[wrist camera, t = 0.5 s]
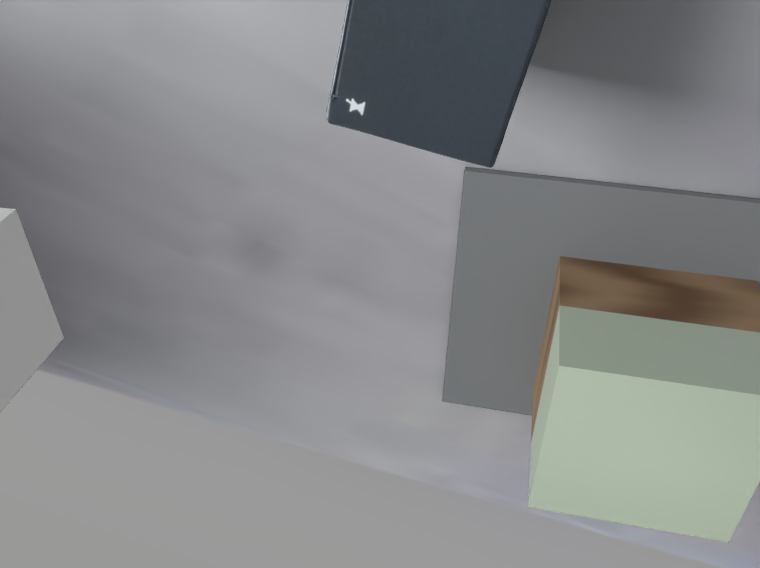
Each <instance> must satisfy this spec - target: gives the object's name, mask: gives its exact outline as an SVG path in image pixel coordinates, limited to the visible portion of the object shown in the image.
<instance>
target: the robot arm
mask: <svg viewBox="0 0 760 568" xmlns="http://www.w3.org/2000/svg"><path fill="white" fill-rule="evenodd" d="M63 339H64V337H63V334H62V331H61V328H60V326H59V323H58V320H57V318H56V315H55V312H54V310H53V307H52V304H51V302H50V299H49V296H48V294H47V291H46V288H45V286H44V283H43V280H42V278H41V275H40V272H39V270H38V267H37V264H36V262H35V259H34V256H33V254H32V251H31V248H30V246H29V243H28V240H27V238H26V235H25V232H24V230H23V227H22V224H21V222H20V219H19V216H18V213H17V211H16V209H10V208H0V412H1V411H2V410H3V409H4V408H5V406H6V405H7V404H8V403H9V402H10V401H11V399H12V398H13V397H14V396H15V395H16V394H17V392H18V391H19V390H20V389H21V388H22V387H23V385H24V384H25V383H26V382H27V381H28V380H29V378H30V377H31V376H32V375H33V374H34V373H35V371H36V370H37V369H38V368H39V367H40V366H41V364H42V363H43V362H44V361H45V360H46V359H47V357H48V356H49V355H50V354H51V353H52V351H53V350H54V349H55V348H56V347H57V346H58V344H59V343H60V342H61V341H62V340H63Z"/></svg>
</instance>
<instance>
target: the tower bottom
mask: <svg viewBox="0 0 760 568" xmlns="http://www.w3.org/2000/svg"><path fill="white" fill-rule="evenodd" d="M559 306H567V307H574V308H582V309H589V310H597V311H604V312H611V313H619V314H626V315H634V316H641V317H648V318H656V319H663V320H671V321H678V322H686V323H693V324H700V325H708V326H715V327H723V328H730V329H737V330H745V331H752V332H760V290H759V287H758V285H757V282H756V281H755V280H747V279H739V278H731V277H723V276H715V275H707V274H699V273H691V272H683V271H675V270H667V269H659V268H651V267H643V266H635V265H627V264H619V263H611V262H603V261H595V260H587V259H579V258H571V257H563V256H560V259H559V264H558V269H557V274H556V279H555V284H554V289H553V294H552V299H551V304H550V309H549V314H548V319H547V325H546V330H545V335H544V340H543V345H542V350H541V355H540V360H539V365H538V370H537V375H536V380H535V385H534V391H533V412H532V433H531V441H532V436H533V431H534V427H535V422H536V417H537V412H538V407H539V403H540V398H541V393H542V388H543V383H544V378H545V374H546V369H547V364H548V359H549V354H550V350H551V345H552V340H553V335H554V330H555V326H556V321H557V316H558V311H559Z"/></svg>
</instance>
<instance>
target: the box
mask: <svg viewBox="0 0 760 568" xmlns="http://www.w3.org/2000/svg"><path fill="white" fill-rule="evenodd" d="M550 3H551V0H348V3H347V9H346V14H345V20H344V26H343V30H342V37H341V43H340V48H339V52H338V57H337V63H336V68H335V73H334V78H333V83H332V88H331V93H330V97H329V101H328V106H327V111H326V119H327V120H328V122H329V123H330V124H333V125H338V126H342V127H346V128H349V129H353V130H357V131H361V132H364V133H368V134H371V135H375V136H378V137H382V138H385V139H388V140H392V141H395V142H399V143H402V144H406V145H409V146H412V147H416V148H420V149H423V150H426V151H430V152H433V153H437V154H440V155H443V156H447V157H451V158H455V159H458V160H462V161H466V162H470V163H473V164H477V165H482V166H486V167H490V168H491V167H493V165H494V163H495V161H496V158H497V155H498V152H499V150H500V147H501V144H502V141H503V138H504V135H505V132H506V129H507V126H508V123H509V120H510V117H511V114H512V111H513V109H514V106H515V103H516V100H517V97H518V94H519V91H520V89H521V86H522V83H523V80H524V78H525V75H526V72H527V69H528V66H529V63H530V60H531V57H532V54H533V52H534V49H535V46H536V44H537V41H538V38H539V35H540V32H541V30H542V27H543V24H544V21H545V18H546V15H547V12H548V9H549V6H550Z"/></svg>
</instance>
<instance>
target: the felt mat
mask: <svg viewBox="0 0 760 568" xmlns="http://www.w3.org/2000/svg"><path fill="white" fill-rule="evenodd" d="M560 256H563V257H571V258H579V259H587V260H595V261H603V262H611V263H619V264H627V265H635V266H643V267H651V268H659V269H667V270H675V271H683V272H691V273H699V274H707V275H715V276H723V277H731V278H739V279H747V280H755V281H756V282H757V285H758V287H759V290H760V199H755V198H746V197H736V196H727V195H718V194H709V193H700V192H691V191H681V190H672V189H663V188H654V187H645V186H635V185H626V184H617V183H608V182H599V181H589V180H580V179H571V178H562V177H553V176H544V175H534V174H525V173H516V172H507V171H498V170H488V169H479V168H470V167H465V171H464V181H463V192H462V202H461V212H460V223H459V233H458V243H457V254H456V264H455V274H454V285H453V295H452V305H451V316H450V326H449V336H448V347H447V357H446V368H445V378H444V388H443V399H442V401H444V402H450V403H456V404H463V405H469V406H475V407H482V408H488V409H494V410H501V411H507V412H513V413H519V414H526V415H532V412H533V391H534V385H535V380H536V375H537V370H538V365H539V360H540V355H541V350H542V345H543V340H544V335H545V330H546V325H547V319H548V314H549V309H550V304H551V299H552V294H553V289H554V284H555V279H556V274H557V269H558V264H559V259H560Z"/></svg>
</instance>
